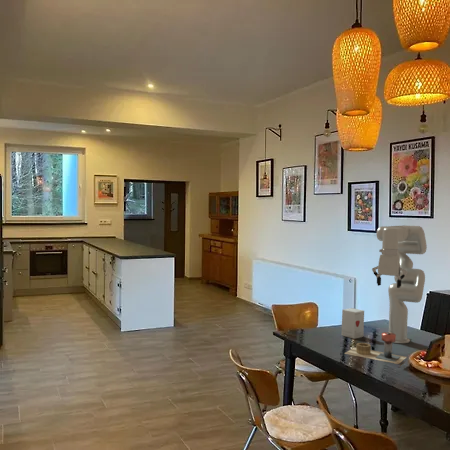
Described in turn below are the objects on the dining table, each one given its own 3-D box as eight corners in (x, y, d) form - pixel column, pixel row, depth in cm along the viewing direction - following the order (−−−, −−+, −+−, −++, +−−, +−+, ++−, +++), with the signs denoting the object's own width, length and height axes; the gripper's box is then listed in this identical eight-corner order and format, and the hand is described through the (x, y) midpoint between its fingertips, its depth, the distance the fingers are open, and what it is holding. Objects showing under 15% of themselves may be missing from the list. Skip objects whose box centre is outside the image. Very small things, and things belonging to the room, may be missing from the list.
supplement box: (354, 339, 273) (354, 312, 272) (340, 335, 280) (341, 309, 279) (364, 336, 278) (364, 310, 278) (350, 333, 285) (351, 307, 285)
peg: (379, 357, 234) (379, 333, 233) (383, 354, 239) (384, 330, 239) (392, 359, 230) (393, 335, 230) (396, 356, 236) (397, 332, 235)
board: (354, 350, 251) (354, 339, 251) (407, 360, 236) (407, 348, 236) (344, 356, 240) (344, 345, 240) (398, 367, 225) (399, 355, 225)
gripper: (370, 251, 249) (369, 285, 250) (405, 254, 239) (404, 289, 240) (375, 250, 255) (374, 283, 256) (409, 253, 245) (408, 287, 246)
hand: (388, 286), depth 248 cm, fingers open, 9 cm apart
